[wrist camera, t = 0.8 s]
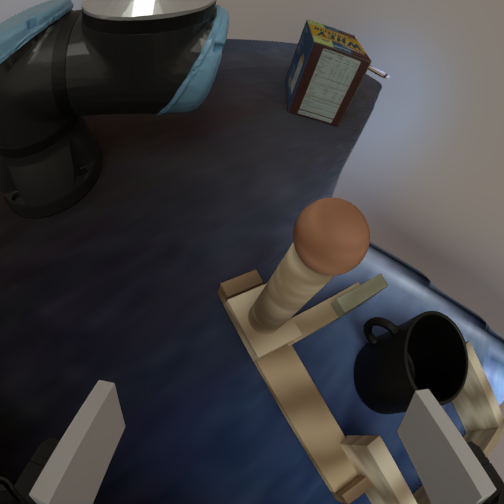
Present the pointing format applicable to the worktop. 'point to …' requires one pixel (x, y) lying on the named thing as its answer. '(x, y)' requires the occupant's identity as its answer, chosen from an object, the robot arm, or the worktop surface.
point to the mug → (411, 362)
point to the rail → (303, 407)
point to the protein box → (325, 73)
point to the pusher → (306, 279)
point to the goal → (477, 430)
